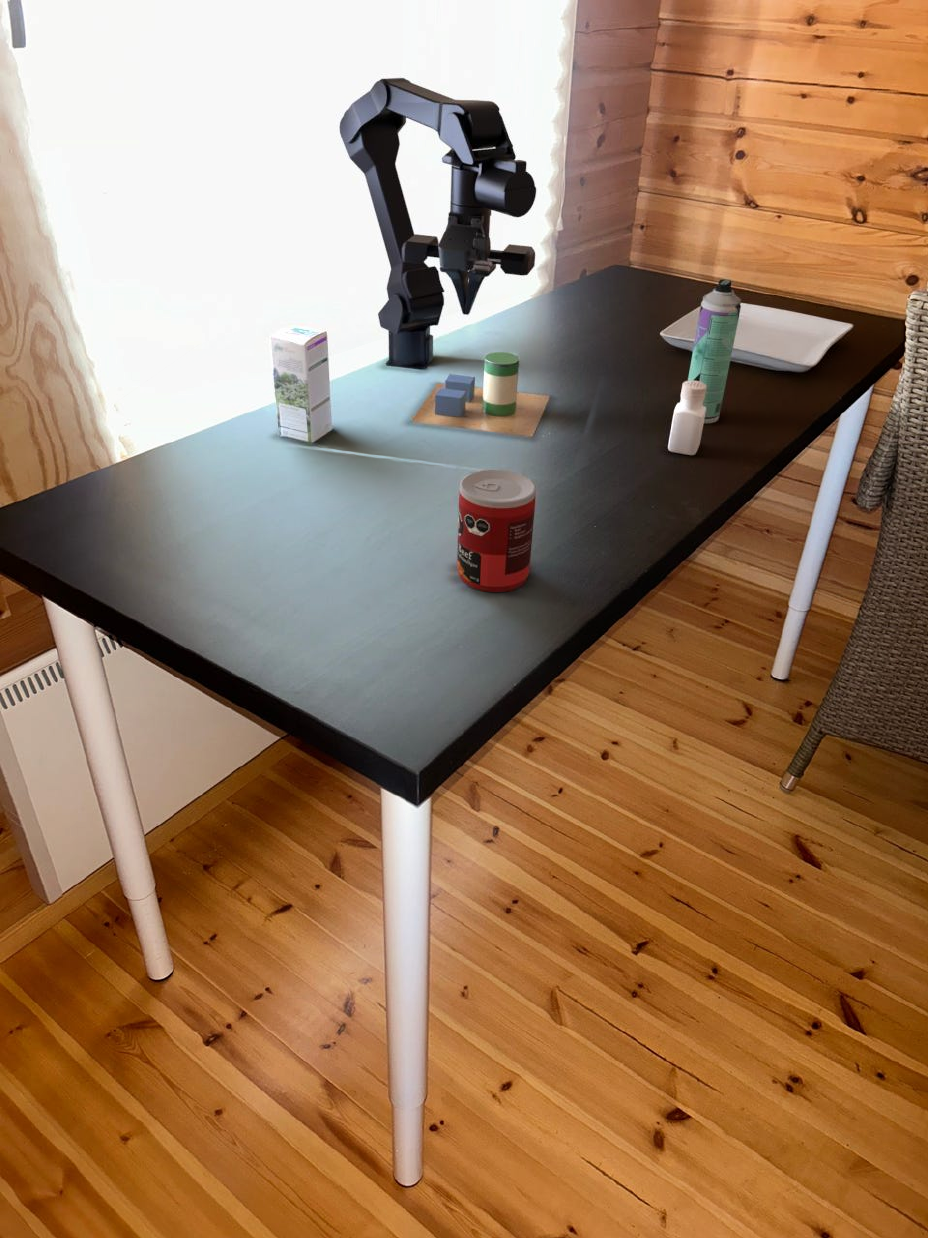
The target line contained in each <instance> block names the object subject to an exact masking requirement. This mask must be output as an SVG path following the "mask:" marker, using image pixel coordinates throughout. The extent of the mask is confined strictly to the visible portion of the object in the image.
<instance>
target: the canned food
mask: <svg viewBox="0 0 928 1238" xmlns="http://www.w3.org/2000/svg"><path fill="white" fill-rule="evenodd" d="M536 488H537V486H536V484H535V483H534V481H533V480H532V479H530V478H529V477H527V476H526V475H523V474H521V473H518V472H515V471H510V470H504V469H485V470H479V471H475V472H472V473H469V474H467V475H465V476H464V477H463V478H462V479H461V481H460V484H459V489H458V510H457V511H458V513H457V548H456V549H457V551H456V569H457V573H458V576H459V578H460V580H461V582H463V583H464V584H465V585H467V586H469V587H470V588H473V589H474V590H479V591H482V592H488V593H503V592H509V591H513V590H516V589H518V588H519V587H521V586H523V585H524V583H526V581H527V578H528V576H529V574H530V566H531V555H532V544H533V535H534V522H535V510H536V497H537V490H536Z"/></svg>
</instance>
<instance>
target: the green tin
mask: <svg viewBox="0 0 928 1238" xmlns="http://www.w3.org/2000/svg"><path fill="white" fill-rule="evenodd" d="M519 369H520V357H519V356H518V355H517V354H514V353H510V352H504V351H496V352H490V353H488V354H485V356H484V367H483V385H482V388H483V407H482V410H483V412H484V413H486V414H488V415H491V416H497V417H505V416H510V415H513V414H514V413H515V412H516V400H517V392H518V385H519V384H518V383H519Z"/></svg>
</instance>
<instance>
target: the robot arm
mask: <svg viewBox="0 0 928 1238" xmlns="http://www.w3.org/2000/svg"><path fill="white" fill-rule="evenodd" d="M407 120H410V121H413V122H416V123H418V124H420V125H423V126H425V127H428V128H430V129H432V130H434V131H435V132H436V133H437V135H438V138H439V140H440V141H441V142H442V143H444V144H445V145H447V146H448V147H449V148H450V150H448V152H447V153H445V154H444V155H443V156H442V158H441V162H442V163H443V164H446V165H450V166H451V169H450V170H451V171H450V203H449V207H450V208H449V212H448V215H447V216H448V217H447V224H446V227H445V230H444V232H443V234H442V236H441V238H440V240H439V238H438V236H434V235H426V234H419V233H418V234H417V233H415V232H414V227H413V224H412V221H411V217H410V213H409V209H408V206H407V202H406V198H405V194H404V191H403V188H402V184H401V181H400V176H399V173H398V169H397V165H396V162H397V158H398V154H399V151H400V150H399V149H400V145H401V142H400V136H399V134H400V131H402V129H403V128H404V126H405V125H406V123H407ZM504 122H505V121H504V119H503V115H502V114H501V113H500V107H499V106H498V104H496V103H495V102H494V101H491V100H479V99H477V100H476V99H455V98H452V97H449V96H446V95H444V94H442V93H440V92H436V91H433V90H431V89H429V88H426V87H423V86H420V85H418V84H416V83H413V82H412V81H410V80H409V79H407V78H405V77H393V78H388V77H387V78H381V79H379V80H377V81H375V83H374V84H373V85H372V86H371V89H370V90H369V91H368V92H366V93H365V94H363V95H361V96H360V97H359V98H357V99H356V100H355V101H353V102H352V103H351V104H350V106H349V107H348V109H346V111H345V112H344V114H343V116H342V118H341V119H340V122H339V135H340V137H341V139H342V142H343V145H344V147H345V150H346V153H347V155H348V158H349V159H350V160H351V161H352V162H353V163H354V165H355V166H356V167H357V168H358V169H359V170H360V171H361V172H362V173H363V174H364V176H365V179H366V184H367V187H368V191H369V194H370V198H371V202H372V205H373V208H374V213H375V216H376V220H377V223H378V227H379V230H380V234H381V237H382V241H383V244H384V247H385V251H386V255H387V258H388V259H387V260H388V262H389V266H390V273H389V276H388V280H387V284H386V292H387V299H388V300H387V301H386V303H385V304H384V305H382V308H381V309H380V310H379V312H378V313H377V317H378V323H379V326H380V328H381V329H384V330H386V331H388V360H387V361H386V362H385V366H386V367H393V368H401V369H411V370H418V371H419V370H420V371H423V370H425V369H426V367H427V366H428V365H429V364H430V363H431V362H432V361H433V360H434V335H433V334H431V327H432V326H439V324H440V319H441V316H442V312H443V309H444V305H445V297H444V293H445V288H444V287H443V285H442V282H441V279H440V273H439V271H440V272H441V273H445V274H446V275H447V276H448V278H449V279H450V280H451V282H452V285H453V288H454V289H455V293H456V297H457V300H458V303H459V306H460V309H461V312H462V315H466V316H469V315H470V314H471V310H472V308H473V305H474V303H475V301H476V299H477V296H478V292H479V290H480V287H481V285H482V284H483V282H484V279H485V278H487V277H490V275H491V274H492V273H493V272H494V271H495V270H496V269H497V265H499V268H500V270H501V271H502V272H503V273H504V274H505V275H515V276H521V277H522V276H528V275H529V274H530V272H531V271H532V270H533V269H534V267H535V266H536V265H535V263H536V251H535V249H534V248H533V247H532V246H529V245H521V244H519V245H518V244H511V243H510V244H509V243H508V245H507V246H506V247H504V249H503V250H500V249H492V247H491V246H492V245H491V244H492V243H491V237H490V231H491V216H492V211H494V212H496V213H500V214H503V215H506V216H510V217H513V218H522V217H524V216H525V215H527V214H528V213H529V211H530V210H531V209H532V207H533V205H534V203H535V200H536V197H537V187H536V184H535V180H534V178H533V176H532V175H531V173H529V172H528V171H527V161H526V160H522V159H516V157H517V156H516V153H515V150H514V145H513V142H512V141H511V139H510V135H509V133H508V130H507V127H506V125H505V123H504ZM428 258H437V259H439V266H440V267H439V270H438V268H437V266H435V265H433V266H429V265H427V264H426V262H425V261H426V260H427V259H428Z"/></svg>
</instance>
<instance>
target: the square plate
mask: <svg viewBox="0 0 928 1238" xmlns="http://www.w3.org/2000/svg"><path fill="white" fill-rule="evenodd" d="M740 305H741V309H740V314H739V319H738V324H737V329H736V334H735V339H734V344H733V349H732V354H731V359H730V362H734V363H738V364H744V365H748V366H752V367H758V368H763V369H766V370H771V371H772V370H773V371H780V372H794V373H805V372H808V371H809V370H810V369H812V368H813V367H815V366H816V365H817V364H818V363H819V362H820V361H821V360H822V359H823V357H824V356H825V355H826V353H827V352H828V350H829V349H830V348H831V347H832V346H833V345H834V344H835V343H837V342H838V341H839V340H841V339H842V338H843V337H844V336H846V334H847V333H848V332H849V331H851V330H852V329H853V328H854V324H853V323H849V322H843V321H839V320H834V319H829V318H824V317H820V316H815V315H811V314H806V313H801V312H796V311H792V310H787V309H781V308H776V307H770V306H764V305H758V304H752V303H744V302H741V303H740ZM700 308H701V305H700V306H698V307H697V308H695V309H693V310H692V311H690V312H689V313H687V314H685V315H683V316H682V317H681V318H679V319H678V320H676V321H674V322H673V323H672V324H670V325H669V326H667V327H666V328H665V329H663V330H662V331H660V333H659V335H660V336H661V337H662V339H663V340H664V341H665V342H666V343H668V344H669V345H670V346H674V347H676V348H679V349H682V350H688V351H690V352H691V353H693V348H694V342H695V337H696V331H697V325H698V320H699V314H700Z"/></svg>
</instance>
